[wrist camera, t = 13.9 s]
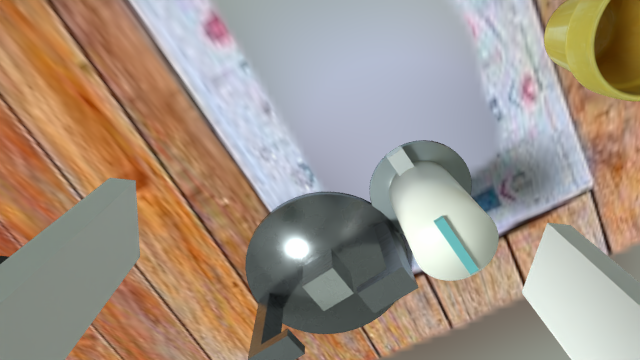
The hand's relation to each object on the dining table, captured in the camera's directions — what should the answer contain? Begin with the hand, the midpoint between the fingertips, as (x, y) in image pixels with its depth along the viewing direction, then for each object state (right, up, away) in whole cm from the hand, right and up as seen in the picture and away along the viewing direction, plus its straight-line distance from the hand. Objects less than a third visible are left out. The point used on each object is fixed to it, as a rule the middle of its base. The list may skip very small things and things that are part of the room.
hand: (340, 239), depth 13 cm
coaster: (+10, +1, +32) cm, 33 cm away
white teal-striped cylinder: (+10, +1, +31) cm, 33 cm away
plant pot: (+24, +16, +26) cm, 39 cm away
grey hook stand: (0, -8, +35) cm, 36 cm away
